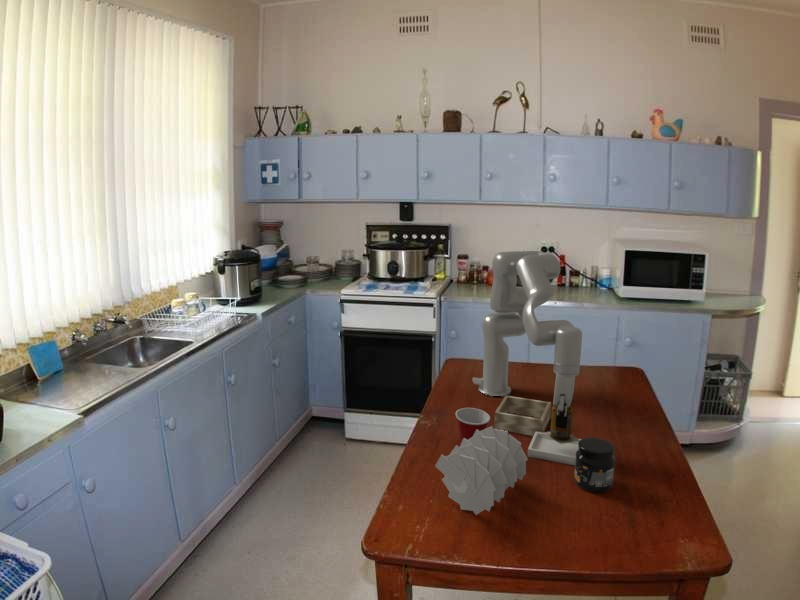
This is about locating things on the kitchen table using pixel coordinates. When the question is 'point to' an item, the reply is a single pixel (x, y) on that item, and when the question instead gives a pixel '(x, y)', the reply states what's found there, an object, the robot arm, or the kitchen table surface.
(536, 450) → the tray
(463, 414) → the plastic cup
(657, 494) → the kitchen table surface
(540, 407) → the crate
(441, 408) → the kitchen table surface
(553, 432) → the condiment
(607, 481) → the supplement container
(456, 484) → the spiral staircase
